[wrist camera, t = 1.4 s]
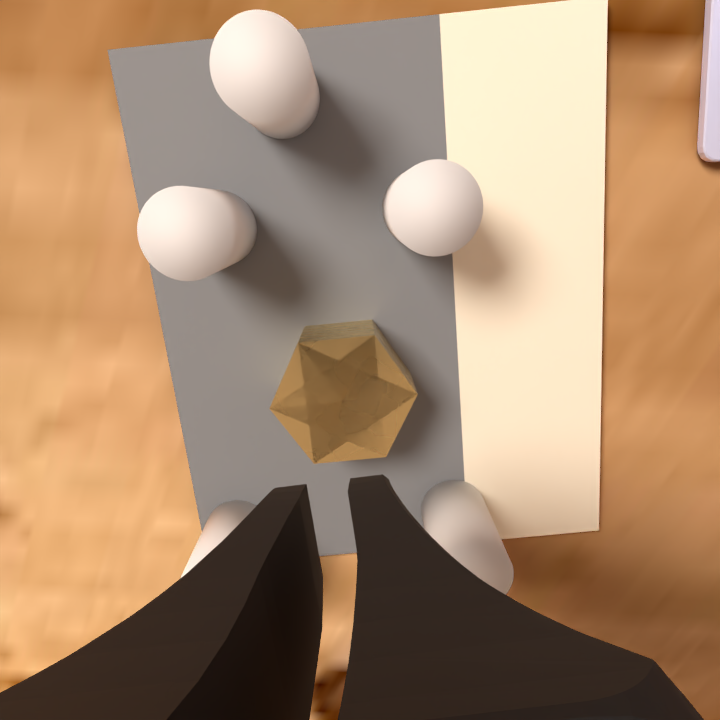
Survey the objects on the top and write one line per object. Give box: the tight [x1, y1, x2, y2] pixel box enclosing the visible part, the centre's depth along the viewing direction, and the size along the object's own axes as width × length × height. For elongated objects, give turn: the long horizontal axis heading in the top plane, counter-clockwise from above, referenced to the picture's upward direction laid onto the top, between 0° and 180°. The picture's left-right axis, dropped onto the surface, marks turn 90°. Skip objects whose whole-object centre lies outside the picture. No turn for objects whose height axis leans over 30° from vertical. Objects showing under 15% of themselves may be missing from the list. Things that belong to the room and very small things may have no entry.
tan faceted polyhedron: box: [269, 320, 418, 464], centre depth 19 cm, size 5×4×2 cm
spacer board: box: [108, 0, 608, 595], centre depth 17 cm, size 15×18×4 cm
